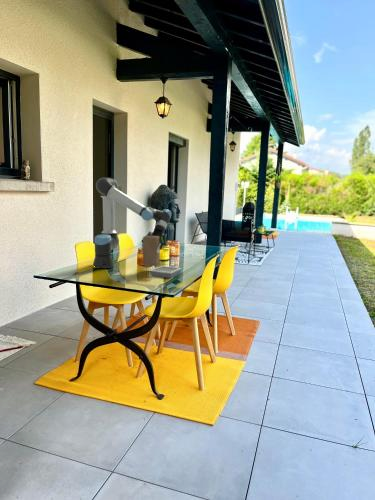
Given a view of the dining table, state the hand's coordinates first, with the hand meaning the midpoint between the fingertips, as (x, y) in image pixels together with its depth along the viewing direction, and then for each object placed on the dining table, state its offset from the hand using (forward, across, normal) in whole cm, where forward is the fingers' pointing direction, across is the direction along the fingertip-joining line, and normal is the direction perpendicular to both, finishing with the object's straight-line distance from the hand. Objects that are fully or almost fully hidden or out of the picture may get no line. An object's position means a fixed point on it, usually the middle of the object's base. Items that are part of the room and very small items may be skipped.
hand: (149, 251), depth 263 cm
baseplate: (+12, -15, -8) cm, 20 cm away
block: (+5, 0, -8) cm, 10 cm away
